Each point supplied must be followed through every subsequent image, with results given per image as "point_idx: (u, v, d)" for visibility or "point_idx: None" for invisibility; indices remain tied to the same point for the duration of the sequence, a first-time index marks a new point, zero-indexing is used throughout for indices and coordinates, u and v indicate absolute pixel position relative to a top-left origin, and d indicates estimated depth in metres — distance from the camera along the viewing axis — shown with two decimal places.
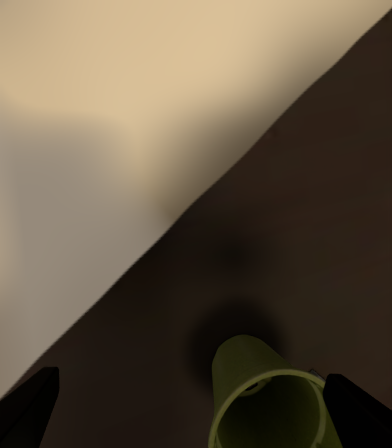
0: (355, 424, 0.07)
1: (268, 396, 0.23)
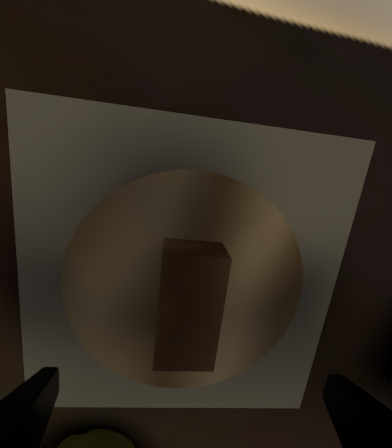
0: (355, 424, 0.07)
1: None
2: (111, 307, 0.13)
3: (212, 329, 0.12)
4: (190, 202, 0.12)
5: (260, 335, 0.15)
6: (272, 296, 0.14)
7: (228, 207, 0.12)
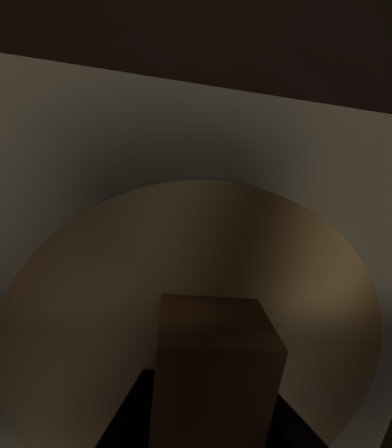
0: None
1: None
2: (76, 400, 0.08)
3: None
4: (206, 236, 0.07)
5: None
6: (332, 377, 0.09)
7: (270, 244, 0.07)
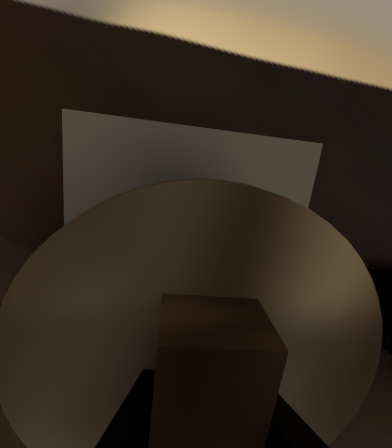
0: None
1: None
2: (76, 400, 0.08)
3: None
4: (207, 236, 0.07)
5: None
6: (332, 377, 0.09)
7: (270, 243, 0.07)
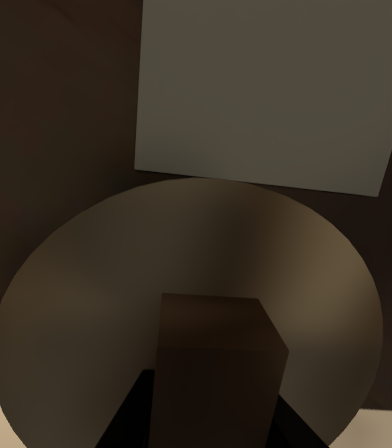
0: None
1: None
2: (76, 400, 0.08)
3: None
4: (207, 235, 0.07)
5: None
6: (333, 377, 0.09)
7: (271, 243, 0.07)
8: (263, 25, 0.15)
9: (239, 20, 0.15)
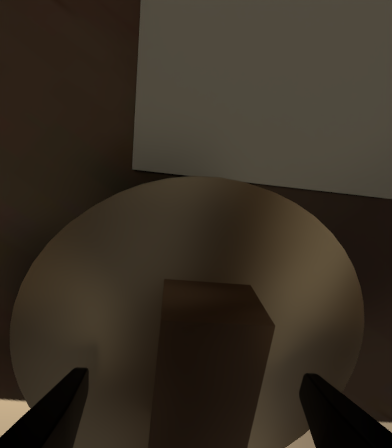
0: (327, 424, 0.07)
1: None
2: None
3: (239, 428, 0.07)
4: (205, 227, 0.08)
5: (299, 409, 0.10)
6: (319, 358, 0.10)
7: (261, 234, 0.08)
8: (272, 13, 0.14)
9: (246, 7, 0.14)
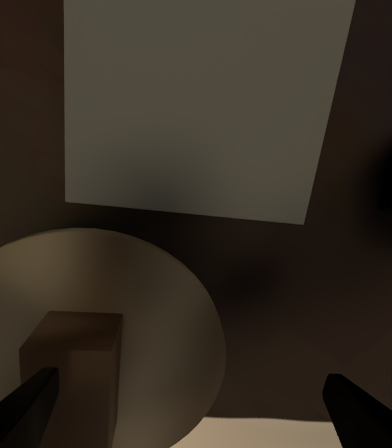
0: (355, 424, 0.07)
1: None
2: None
3: (97, 430, 0.09)
4: (77, 270, 0.10)
5: (180, 412, 0.13)
6: (191, 370, 0.12)
7: (126, 274, 0.10)
8: (181, 70, 0.16)
9: (158, 65, 0.16)
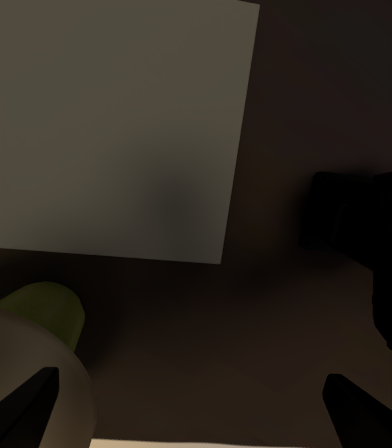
0: (355, 424, 0.07)
1: None
2: None
3: None
4: None
5: None
6: (59, 426, 0.13)
7: None
8: (84, 124, 0.17)
9: (60, 120, 0.17)
